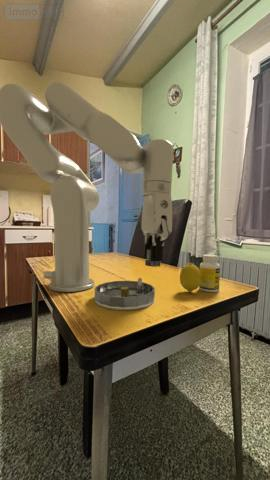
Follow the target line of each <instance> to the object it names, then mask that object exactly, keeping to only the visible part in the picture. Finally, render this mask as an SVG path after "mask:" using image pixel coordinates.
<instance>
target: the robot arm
mask: <svg viewBox="0 0 270 480" xmlns="http://www.w3.org/2000/svg"><path fill="white" fill-rule="evenodd" d="M44 99H45V100H44V101H45V103H43V102H42V101H41V100H40V99H39V98H38V97H37V96H36V95H35V94H33V92H31V91H30V90H28V89H27V88H26V87H24V86H22V85H19V84H17V83H7V84H4V85H3V86H2V87H0V125H1V127H2V129H3V131H4V132H5V134H6V135H7V136H8V138H9V139H10V141H11V142H12V143H13V144H14V146H16V148H17V149H18V151H19V152H20V153H21V155H22V157H24V159H25V160H26V161H27V163H28V164H29V166H30V167H31V168H32V169H33V171H34V172H35V173H36V175H37V176H38V177H39V178H40V179H41V180H43V181H45V182H48V183H50V184H51V186H50V193H49V194H50V201H51V208H52V214H53V227H54V229H53V230H54V231H53V232H54V270H53V271H51V270H45V271H44V274H43V279H50V280H51V282H50V283H49V284H48V285H49V287H48V288H49V289H50V290H52V291H54V292H60V293H61V292H62V293H71V292H72V293H74V292H81V291H86V290H89V289H91V288H93V287H94V286H95V280H94V279H92V278H90V232H89V231H90V229H89V228H90V226H89V218H88V212H89V213H90V212H92V211H93V210H95V209H96V208H97V207H98V206H99V201H100V194H99V191H98V190H97V188H96V186H95V185H94V184H93V183H92V182H91V180H90V179H89V177H88V176H87V175H86V174H85V173H84V171H83V170H82V169H81V167H79V165H78V164H77V163H76V162H75V161H74V160H72V159H71V158H69V156H66V155H65V154H64V153H62V152H60V151H59V150H58V149H56V148H55V147H54V145H53V144H52V143H51V142H50V141H49V140H48V139H47V137H46V135H55V134H61V133H62V134H63V133H69V132H70V133H71V132H74V133H76V134H77V136H79V137H80V138H81V139H82V140H84V141H90V142H91V143H93V145H95V147H97V148H98V149H100V150H101V151H102V152H103V153H104V154H106V155H107V157H109V158H110V159H112V161H114V163H115V164H117V166H118V167H119V168H120V169H121V170H122V171H123V172H124V173H126V174H129V175H137V174H142V175H143V176H142V191H141V192H142V195H141V196H142V197H143V201H142V202H143V203H142V210H141V211H142V212H141V226H140V227H141V231H142V234H143V236H144V259H146V260H147V249H151V255H150V260H151V261H161V262H162V261H163V252H164V251H163V250H164V246H165V241H166V239H167V238H168V237H169V235H170V234H171V233H172V232H173V201H172V199H173V198H172V181H173V165H174V162H173V161H174V146H173V143H172V142H171V141H169V140H166V139H162V138H161V139H160V138H159V139H157V138H156V139H151V140H149V141H148V142H147V143H146V144H145V145H144V147H143V146H141V143H140V142H139V140H138V139H137V137H136V136H135V135H134V133H132V132H131V131H130V130H129V129H128V128H126V127H125V126H124V125H122V124H121V123H120V122H119V121H117V120H116V119H115V118H114V117H112V116H111V115H110V114H107V113H106V112H103V111H100V109H98V108H96V107H95V106H94V105H93V104H92V103H90V102H89V101H87V99H86V98H84V97H83V96H82V95H80V93H78V92H77V91H75V89H73V88H72V87H70V86H69V85H67V84H66V83H63V82H61V81H54V82H51V83H49V84H48V85H47V87H46V89H45V92H44ZM45 104H46V105H45Z"/></svg>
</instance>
